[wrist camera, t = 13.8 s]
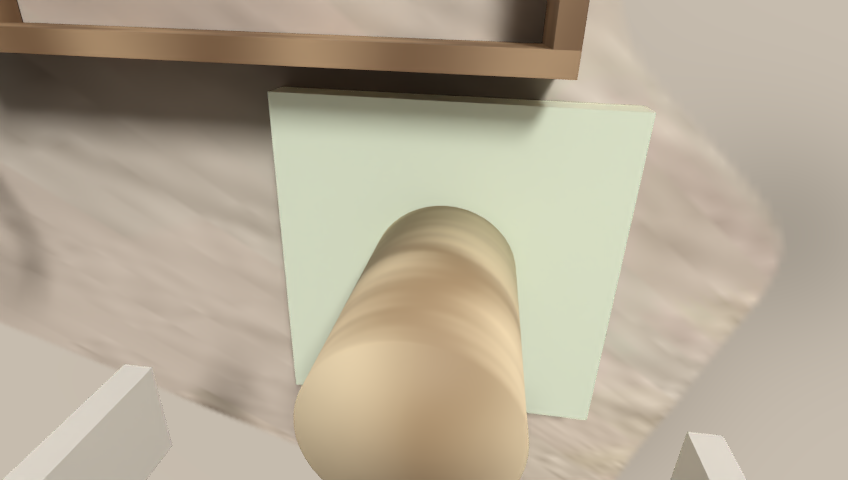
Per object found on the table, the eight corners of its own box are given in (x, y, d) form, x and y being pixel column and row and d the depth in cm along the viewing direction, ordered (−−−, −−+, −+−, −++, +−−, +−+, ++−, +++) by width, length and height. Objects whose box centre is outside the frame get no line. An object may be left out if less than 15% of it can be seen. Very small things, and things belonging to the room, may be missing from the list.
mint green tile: (306, 364, 25) (296, 384, 24) (283, 86, 20) (267, 91, 18) (581, 397, 24) (586, 420, 23) (644, 105, 18) (656, 112, 17)
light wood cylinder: (374, 325, 22) (302, 504, 14) (372, 200, 20) (283, 329, 11) (508, 339, 21) (514, 535, 13) (523, 211, 19) (544, 357, 11)
